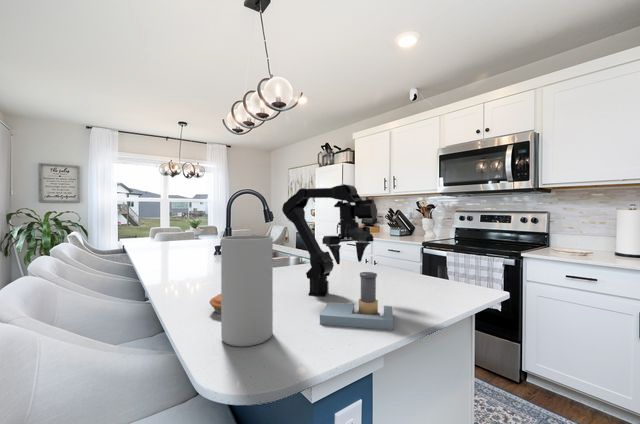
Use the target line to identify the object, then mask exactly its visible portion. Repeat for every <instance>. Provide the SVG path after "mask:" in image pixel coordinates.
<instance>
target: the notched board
mask: <svg viewBox="0 0 640 424" xmlns="http://www.w3.org/2000/svg"><path fill="white" fill-rule="evenodd" d="M393 312H394V310H393V306H392V305H383V315H380V316H378V315H364V314H357V313H355V303H348V302H347V303H346V302H345V303H343V302H333V301H327V303H326V304H325V306H324V307H323V309H322V311H321V312H320V314H319V325H329V326H341V327H353V328H367V329H379V330H390V331H391V330H394V313H393Z"/></svg>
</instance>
